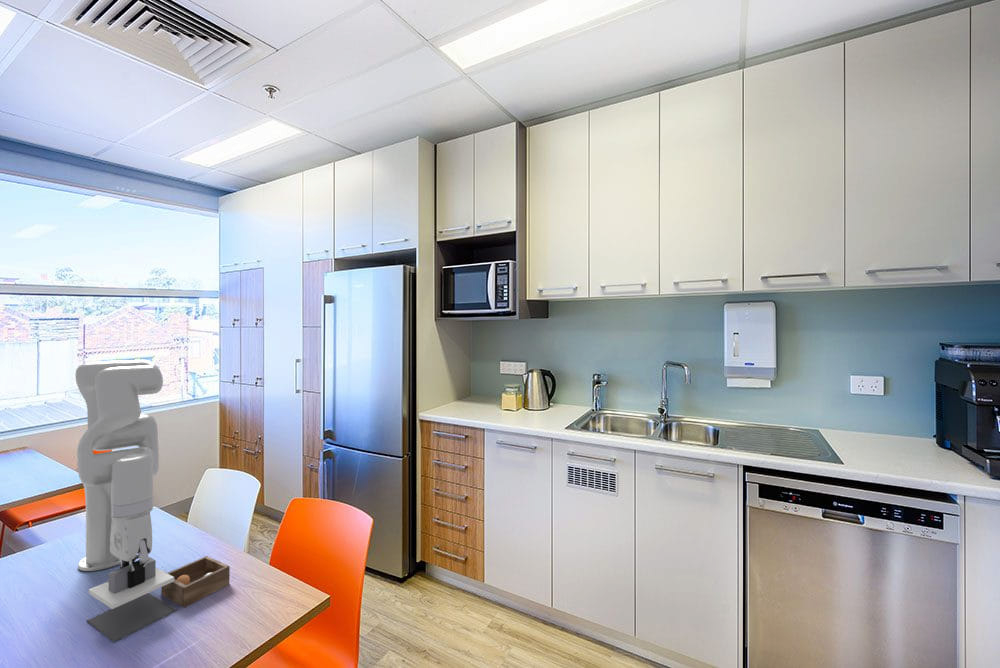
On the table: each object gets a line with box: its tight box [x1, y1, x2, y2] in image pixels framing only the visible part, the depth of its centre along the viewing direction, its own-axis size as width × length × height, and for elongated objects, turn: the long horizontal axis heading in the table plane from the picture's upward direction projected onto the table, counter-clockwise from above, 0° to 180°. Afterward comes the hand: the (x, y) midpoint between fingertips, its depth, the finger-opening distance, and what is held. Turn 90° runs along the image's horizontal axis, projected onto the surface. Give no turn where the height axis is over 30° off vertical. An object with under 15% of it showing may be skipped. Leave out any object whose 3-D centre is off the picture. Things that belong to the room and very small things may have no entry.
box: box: [160, 555, 231, 609], centre depth 112 cm, size 11×11×5 cm
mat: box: [86, 592, 177, 643], centre depth 102 cm, size 14×12×1 cm
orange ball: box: [177, 575, 190, 585], centre depth 112 cm, size 3×3×3 cm
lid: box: [88, 556, 174, 609], centre depth 101 cm, size 12×12×5 cm
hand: (132, 582), depth 101 cm, fingers closed on lid, 3 cm apart
